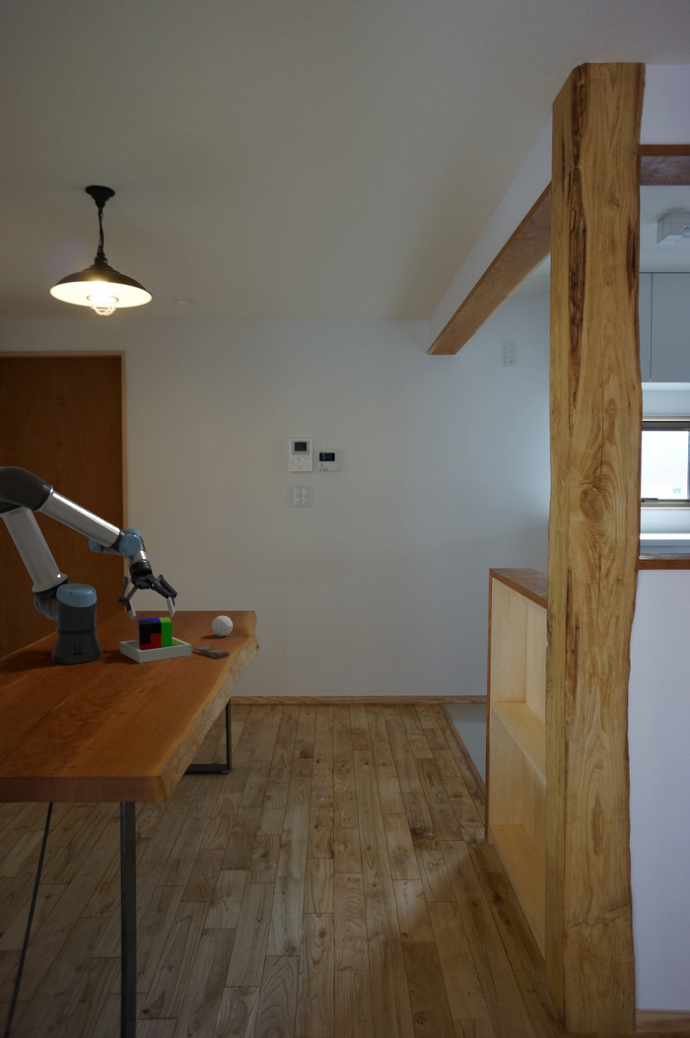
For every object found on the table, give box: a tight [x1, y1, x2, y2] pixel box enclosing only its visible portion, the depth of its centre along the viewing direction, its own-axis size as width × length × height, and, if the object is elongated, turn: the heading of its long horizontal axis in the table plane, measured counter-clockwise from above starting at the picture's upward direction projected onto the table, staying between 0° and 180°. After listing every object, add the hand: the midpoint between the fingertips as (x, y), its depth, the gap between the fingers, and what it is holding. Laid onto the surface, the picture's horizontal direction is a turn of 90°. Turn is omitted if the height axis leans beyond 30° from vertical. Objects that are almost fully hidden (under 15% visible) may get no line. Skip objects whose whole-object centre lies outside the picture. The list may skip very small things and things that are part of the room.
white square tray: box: [119, 636, 192, 664], centre depth 222 cm, size 17×17×4 cm
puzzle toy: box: [138, 616, 173, 651], centre depth 222 cm, size 10×10×10 cm
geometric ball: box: [211, 615, 234, 638], centre depth 250 cm, size 8×8×8 cm
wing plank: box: [193, 645, 230, 660], centre depth 222 cm, size 14×4×2 cm, turn 47°
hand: (153, 616), depth 226 cm, fingers open, 13 cm apart
